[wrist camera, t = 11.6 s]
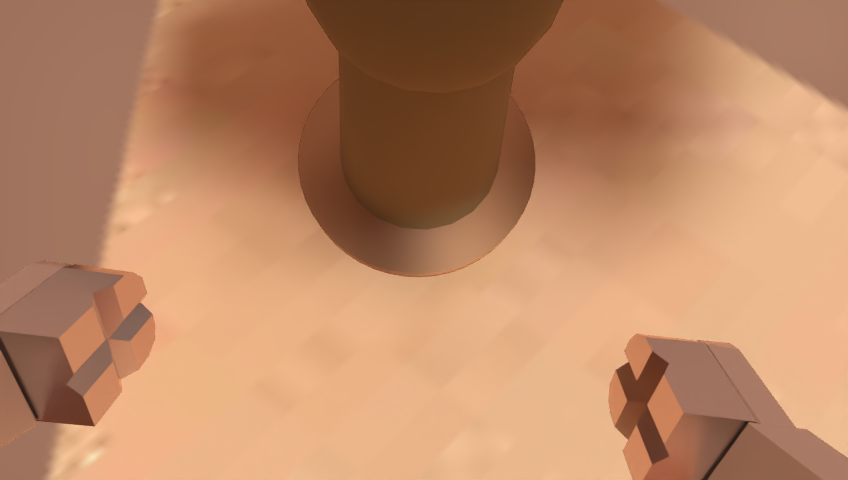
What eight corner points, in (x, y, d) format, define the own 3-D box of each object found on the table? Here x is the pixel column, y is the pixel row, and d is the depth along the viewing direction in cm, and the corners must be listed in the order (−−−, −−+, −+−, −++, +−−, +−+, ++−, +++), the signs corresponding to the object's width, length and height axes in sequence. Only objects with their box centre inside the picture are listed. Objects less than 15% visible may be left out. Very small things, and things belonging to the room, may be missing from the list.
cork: (428, 54, 19) (458, -338, 8) (531, 162, 18) (718, -119, 7) (307, 143, 18) (158, -174, 7) (410, 263, 17) (420, 108, 6)
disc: (522, 105, 22) (540, 66, 19) (510, 296, 20) (528, 286, 17) (331, 82, 22) (319, 39, 19) (298, 272, 20) (278, 257, 17)
